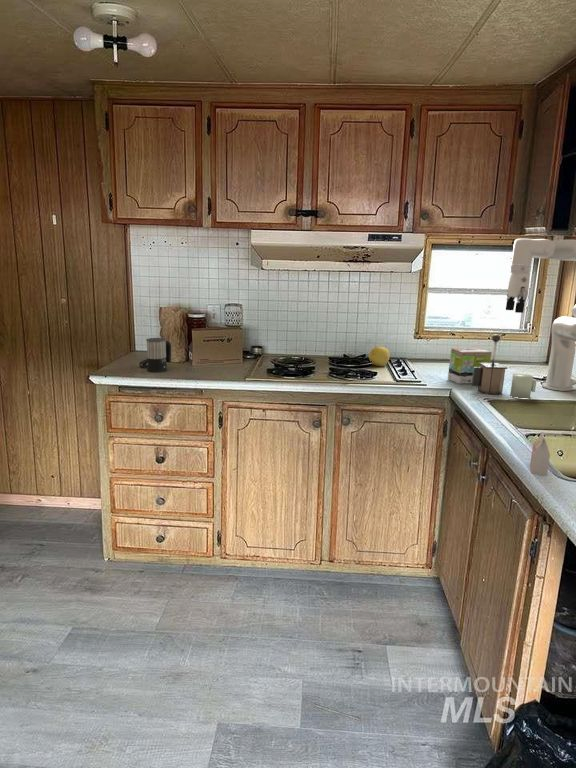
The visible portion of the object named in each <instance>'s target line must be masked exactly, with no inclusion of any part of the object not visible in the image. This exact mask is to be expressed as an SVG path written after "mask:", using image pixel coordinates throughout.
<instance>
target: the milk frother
mask: <svg viewBox="0 0 576 768" xmlns="http://www.w3.org/2000/svg"><path fill="white" fill-rule="evenodd" d="M145 341H146V352H147V353H146V354H147V357H146V359H143V360H141V361H139V363H138V365H139V367H140V368H144V369H145V368H147V372H150V373H163V372H166V371H168V366H167V363H170V362H171V361H172V344H171V342H170V341H169V340H167V339H166V338H164V337H149V338H146V339H145Z"/></svg>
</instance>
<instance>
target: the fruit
mask: <svg viewBox="0 0 576 768" xmlns="http://www.w3.org/2000/svg"><path fill="white" fill-rule="evenodd" d="M368 358H369V361H370V362H371V361H372V363H371V364H372V365H373V366H376V367H383V366H386V365H387V364H388V362H389V360H390V350H389V349H388V348H386V347H384V346H375V347H374V348H372V349H371V350H370V352H369V354H368Z"/></svg>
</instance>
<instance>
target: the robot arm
mask: <svg viewBox="0 0 576 768" xmlns="http://www.w3.org/2000/svg"><path fill="white" fill-rule="evenodd" d="M511 255H512V256H511V263H510V264H511V265H510V271H509V273H510V277H509V280H508V287H507V290H506V292H507V293H506V296H507V298H506V304H505V305H506V306H505V311H514V312H515V313H516V314H517V313H518V314H522V313H523V314H524V309H525V304H526V300H527V298H528V297H529V288H530V274H531V267H532V260H533V259H549V260H558V261H566V262H567V261H569V262H570V261H571V262H576V239H561V240H560V239H559V240H557V239H556V240H551V239H546V238H535V239H533V238H517V239H515V240H514V243H513V249H512V254H511ZM515 299H516V303H515ZM514 309H515V310H514ZM571 315H572V316H570V315H569V316H568V315H563V316H560V317H557V318H556V319H554V321H553V322H552V324H551V347H550V352H549V353H550V354H549V361H548V367H547V373H546V380H545V381H544V382H541V387H543V388H544V389H548V390H551V391H559V392H571V391H573V390H574V386H575V385H576V379H573V378H572V375H573V369H574V361H575V355H576V304H575V305H574V306H573V307H572V311H571Z"/></svg>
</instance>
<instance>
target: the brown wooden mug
mask: <svg viewBox="0 0 576 768" xmlns="http://www.w3.org/2000/svg"><path fill="white" fill-rule="evenodd" d="M479 364H480V367H474V368H473V376H472V383H471V386H472V387H476V390H477V392H478V393H481V394H484V395H489V396H491V395H493V396H496V395H497V396H499V394H500V395H502V394H503V392H504V383H505V376H506V375H505V374H506V370H507V369H508V367H507V366H505V365H503V364H501V363H499V362H494V366H492V362H490V363H479Z"/></svg>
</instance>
